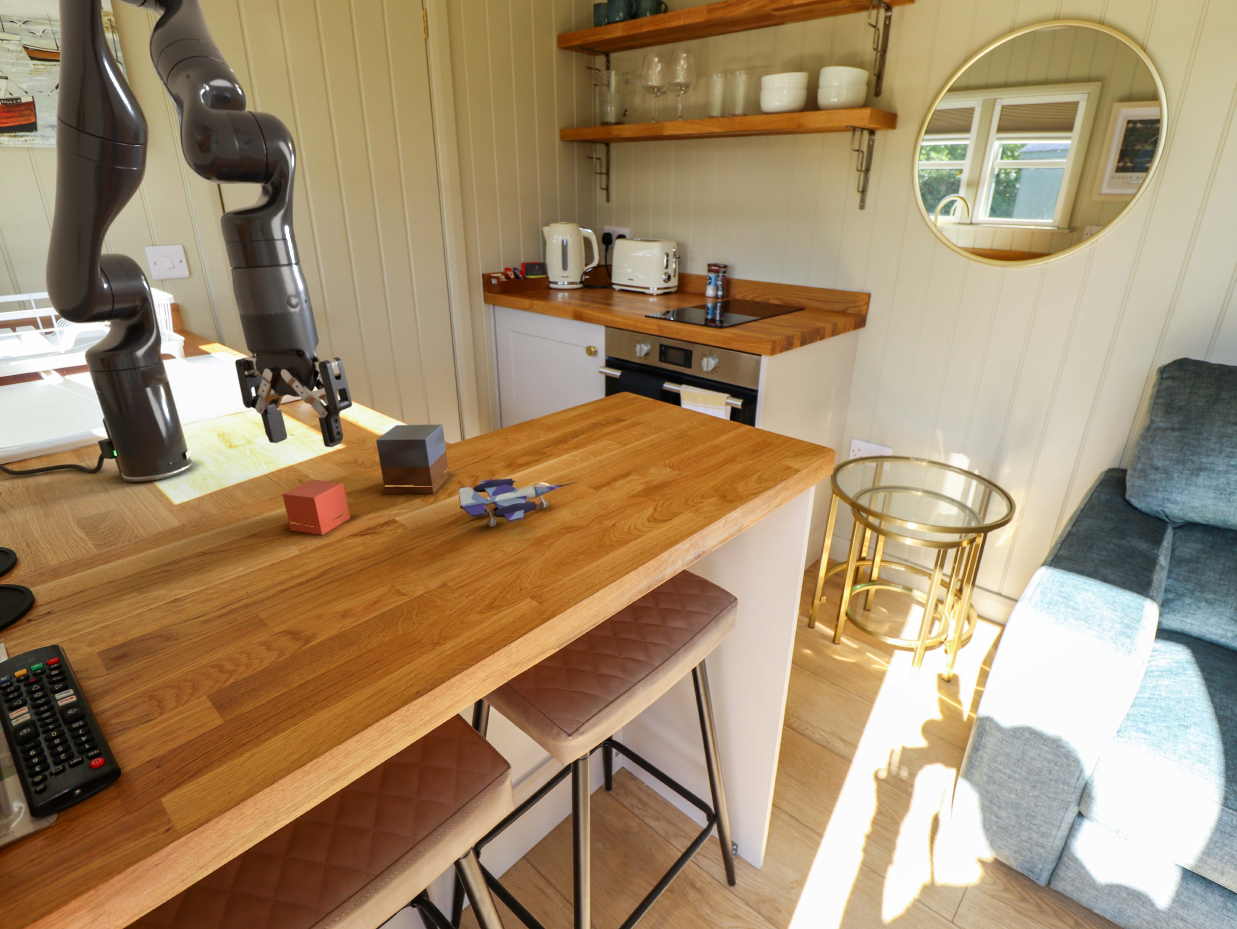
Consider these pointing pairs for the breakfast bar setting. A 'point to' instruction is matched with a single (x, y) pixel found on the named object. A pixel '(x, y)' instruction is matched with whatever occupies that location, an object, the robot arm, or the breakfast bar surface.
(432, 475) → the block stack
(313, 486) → the toy block
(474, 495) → the toy airplane
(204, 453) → the breakfast bar surface
